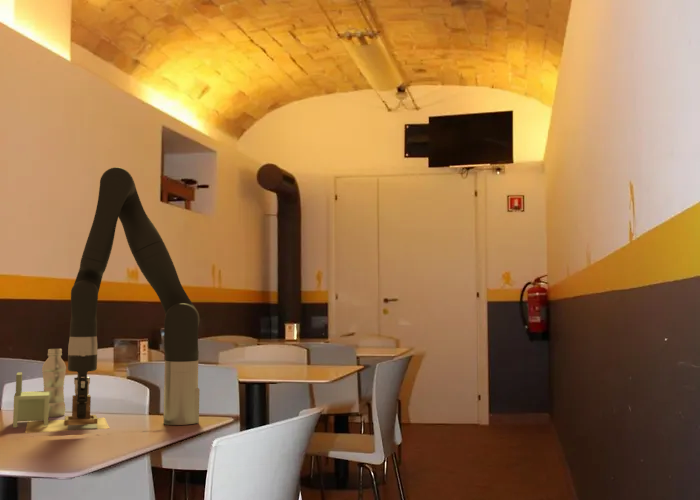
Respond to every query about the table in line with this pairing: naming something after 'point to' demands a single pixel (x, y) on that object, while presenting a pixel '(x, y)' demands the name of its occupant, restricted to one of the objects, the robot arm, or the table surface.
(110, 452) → the table surface
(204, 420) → the table surface
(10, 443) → the table surface
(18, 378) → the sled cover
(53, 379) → the plastic bottle
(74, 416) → the walnut block
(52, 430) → the puzzle board
